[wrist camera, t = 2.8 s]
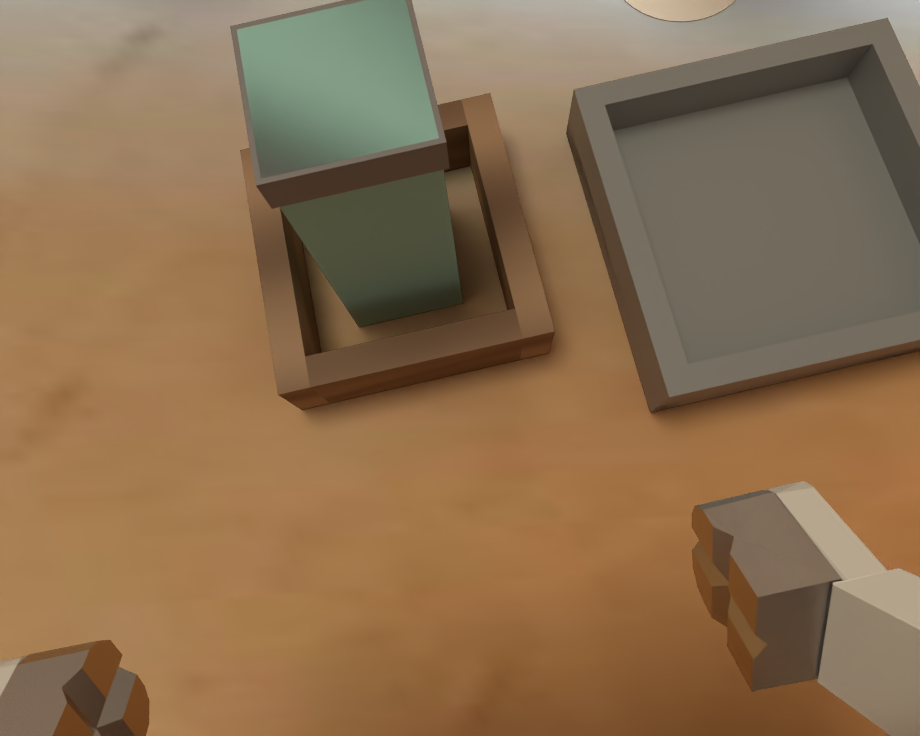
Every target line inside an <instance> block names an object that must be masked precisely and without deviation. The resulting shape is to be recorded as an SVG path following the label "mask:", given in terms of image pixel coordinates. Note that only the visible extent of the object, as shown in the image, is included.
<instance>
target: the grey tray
mask: <svg viewBox="0 0 920 736" xmlns="http://www.w3.org/2000/svg"><path fill="white" fill-rule="evenodd" d="M566 134H567V137H568V141H569V144H570V147H571V151H572V154H573V157H574V161H575V164H576V167H577V170H578V174H579V177H580V180H581V184H582V187H583V190H584V194H585V197H586V200H587V204H588V207H589V210H590V214H591V217H592V220H593V224H594V227H595V230H596V234H597V237H598V240H599V244H600V247H601V250H602V254H603V257H604V260H605V264H606V267H607V270H608V274H609V277H610V280H611V284H612V287H613V290H614V294H615V297H616V300H617V304H618V307H619V310H620V314H621V317H622V320H623V324H624V327H625V330H626V334H627V337H628V340H629V344H630V347H631V350H632V354H633V357H634V360H635V364H636V367H637V370H638V374H639V377H640V380H641V383H642V387H643V390H644V393H645V397H646V400H647V403H648V407H649V410H650V412H654V411H658V410H663V409H667V408H672V407H676V406H680V405H685V404H689V403H693V402H698V401H702V400H706V399H711V398H715V397H720V396H724V395H728V394H733V393H737V392H741V391H746V390H750V389H754V388H759V387H763V386H767V385H772V384H776V383H781V382H785V381H789V380H794V379H798V378H802V377H807V376H811V375H815V374H820V373H824V372H829V371H833V370H837V369H842V368H846V367H850V366H855V365H859V364H863V363H868V362H872V361H877V360H881V359H885V358H890V357H894V356H898V355H903V354H907V353H911V352H916V351H920V86H919V84H918V82H917V80H916V78H915V76H914V74H913V71H912V69H911V67H910V65H909V63H908V61H907V59H906V56H905V54H904V52H903V50H902V48H901V46H900V44H899V41H898V39H897V37H896V35H895V33H894V31H893V29H892V26H891V24H890V22H889V20H888V18H885V19H881V20H876V21H872V22H868V23H863V24H859V25H854V26H850V27H846V28H841V29H837V30H833V31H828V32H824V33H819V34H815V35H811V36H806V37H802V38H797V39H793V40H789V41H784V42H780V43H776V44H771V45H767V46H762V47H758V48H754V49H749V50H745V51H740V52H736V53H732V54H727V55H723V56H719V57H714V58H710V59H705V60H701V61H697V62H692V63H688V64H683V65H679V66H675V67H670V68H666V69H662V70H657V71H653V72H648V73H644V74H640V75H635V76H631V77H626V78H622V79H618V80H613V81H609V82H605V83H600V84H596V85H591V86H587V87H583V88H578V89H574V92H573V97H572V103H571V109H570V115H569V121H568V126H567V132H566Z"/></svg>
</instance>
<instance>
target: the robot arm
mask: <svg viewBox="0 0 920 736" xmlns="http://www.w3.org/2000/svg"><path fill="white" fill-rule="evenodd" d="M692 528H693V530H694V532H695V534H696V535H697V537H698V539H699V542H698V543H697V544H696V546H695V547H694V548H693V549H692V561H693V570H694V574H695V578H696V582H697V587H698V589H699V592H700V594H701V597H702V599H703V601H704V604H705V605H706V607H707V609H708V611H709V613H710V615H711V617H712V618H713V619H715V620H716V621H718V622H720V623H721V624H723V625H724V626H726V627H727V647H728V649H729V651H730V653H731V654H732V656H733V658H734V660H735V662H736V664H737V665H738V667H739V669H740V671H741V673H742V675H743V676H744V678H745V680H746V682H747V684H748V686H749V687H750V689H751V691H757V690H762V689H767V688H772V687H778V686H783V685H788V684H793V683H798V682H803V681H808V680H813V679H818V683H819V684H821V685H822V686H823V687H825V688H826V689H827V690H829V691H830V692H832V693H833V694H834V695H836V696H837V697H838V698H840V699H841V700H842V701H844V702H845V703H847V704H848V705H849V706H851V707H852V708H853V709H855V710H856V711H857V712H859V713H860V714H861V715H863V716H864V717H866V718H867V719H868V720H870V721H871V722H872V723H874V724H875V725H876V726H878V727H879V728H881V729H882V730H883V731H885V732H886V733H887V734H889V735H890V736H920V577H918V576H916V575H914V574H911V573H909V572H907V571H905V570H903V569H900V568H898V569H892V570H887V569H886V568H885V567H884V566H883V564H882V563H881V562H880V561H879V560H878V559H877V558H876V557H875V555H874V554H873V553H872V552H871V551H870V550H869V549H868V548H867V546H866V545H865V544H864V543H863V542H862V541H861V540H860V539H859V538H858V536H857V535H856V534H855V533H854V532H853V531H852V530H851V529H850V527H849V526H848V525H847V524H846V523H845V522H844V521H843V520H842V518H841V517H840V516H839V515H838V514H837V513H836V512H835V511H834V509H833V508H832V507H831V506H830V505H829V504H828V503H827V502H826V501H825V499H824V498H823V497H822V496H821V495H820V494H819V493H818V492H817V490H816V489H815V488H814V487H813V486H812V485H811V484H809V483H807V482H805V481H801V482H797V483H792V484H788V485H784V486H779V487H775V488H771V489H767V490H766V491H764V490H761V491H757V492H753V493H748V494H744V495H740V496H736V497H731V498H727V499H723V500H719V501H715V502H710V503H706V504H702V505H698V506H694V509H693V512H692ZM121 658H122V654H121V652H120V651H119V650H118V649H117V648H116V646H115V645H114V644H113V643H112V642H111V640H102V641H95V642H90V643H85V644H80V645H74V646H69V647H64V648H59V649H54V650H49V651H44V652H39V653H34V654H29V655H27V656H22V657H17V658H12V659H7V660H2V661H0V736H146V733H147V729H148V726H149V698H148V695H147V692H146V689H145V686H144V684H143V683H142V681H141V680H140V678H139V677H138V676H137V675H136V674H134V673H132V672H129V671H127V670H125V669H122V668H120V667H119V664H120V661H121Z"/></svg>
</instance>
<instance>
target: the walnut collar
mask: <svg viewBox="0 0 920 736" xmlns="http://www.w3.org/2000/svg"><path fill="white" fill-rule="evenodd" d="M437 106H438V110H439V114H440V118H441V122H442V126H443V130H444V134H445V138H446V143H447V151H448V159H449V166H450V168H449V169H445V170H444V171H448V170H452V169H457V168H461V167H465V166H470V165H471V168H472V172H473V176H474V180H475V184H476V188H477V192H478V196H479V200H480V204H481V208H482V212H483V216H484V220H485V223H486V227H487V231H488V235H489V239H490V243H491V247H492V251H493V255H494V259H495V263H496V267H497V271H498V275H499V278H500V282H501V286H502V290H503V294H504V298H505V302H506V306H507V310H506V311H502V312H498V313H493V314H489V315H485V316H480V317H476V318H472V319H467V320H463V321H458V322H454V323H450V324H445V325H441V326H437V327H432V328H428V329H423V330H419V331H415V332H410V333H406V334H402V335H397V336H393V337H388V338H384V339H380V340H375V341H371V342H367V343H362V344H358V345H354V346H349V347H345V348H340V349H336V350H332V351H327V352H323V353H321V349H320V343H319V337H318V331H317V326H316V320H315V314H314V309H313V303H312V297H311V291H310V286H309V280H308V274H307V269H306V263H305V257H304V251H303V246H302V240H301V239H300V237H299V236H298V234H297V233H296V231H295V230H294V228H293V227H292V225H291V224H290V222H289V221H288V219H287V218H286V216H285V215H284V213H283V212H282V210H281V209H280V207H278V208H274V209H272V208H271V207H270V205H269V204H268V203H267V201H266V200H265V198H264V197H263V195H262V194H261V192H260V191H259V189H258V188H257V187H256V184H255V177H254V171H253V165H252V159H251V152H250V148H247V149H243V150H240V152H241V159H242V165H243V171H244V178H245V184H246V191H247V197H248V204H249V210H250V217H251V223H252V229H253V236H254V242H255V249H256V255H257V262H258V268H259V275H260V281H261V287H262V294H263V300H264V307H265V313H266V320H267V326H268V333H269V339H270V345H271V352H272V358H273V365H274V371H275V378H276V384H277V391H278V395H279V396H281V397H282V398H284V399H286V400H287V401H289V402H290V403H292V404H293V405H295V406H296V407H298V408H300V409H301V410H303V409H307V408H311V407H316V406H320V405H324V404H329V403H333V402H337V401H342V400H346V399H351V398H355V397H359V396H364V395H368V394H372V393H377V392H381V391H385V390H390V389H394V388H399V387H403V386H407V385H412V384H416V383H420V382H425V381H429V380H434V379H438V378H442V377H447V376H451V375H455V374H460V373H464V372H468V371H473V370H477V369H482V368H486V367H490V366H495V365H499V364H503V363H508V362H512V361H517V360H521V359H525V358H530V357H534V356H538V355H543V354H547V353H549V350H550V347H551V343H552V340H553V336H554V333H555V330H554V326H553V323H552V319H551V315H550V311H549V308H548V304H547V300H546V297H545V293H544V289H543V286H542V282H541V278H540V275H539V271H538V267H537V264H536V260H535V256H534V253H533V249H532V245H531V242H530V238H529V234H528V230H527V227H526V223H525V219H524V216H523V212H522V208H521V205H520V201H519V197H518V194H517V190H516V186H515V183H514V179H513V175H512V172H511V168H510V164H509V161H508V157H507V153H506V149H505V146H504V142H503V138H502V135H501V131H500V127H499V124H498V120H497V116H496V113H495V109H494V105H493V102H492V98H491V94H490V93H488V94H484V95H480V96H475V97H471V98H466V99H462V100H458V101H453V102H449V103H445V104H440V105H437Z"/></svg>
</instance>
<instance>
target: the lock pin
mask: <svg viewBox="0 0 920 736" xmlns="http://www.w3.org/2000/svg"><path fill="white" fill-rule="evenodd" d="M230 27H231V33H232V40H233V46H234V52H235V58H236V65H237V71H238V77H239V83H240V90H241V96H242V102H243V109H244V115H245V121H246V127H247V134H248V140H249V146H250V152H251V159H252V165H253V171H254V177H255V184H256V187H257V188H258V189H259V191H260V192H261V194H262V195H263V197H264V198H265V200H266V201H267V203H268V204H269V205H270V207H271V208H272V209H274V208H278V207H280V209H281V210H282V212H283V213H284V215H285V216H286V218H287V219H288V221H289V222H290V224H291V225H292V227H293V228H294V230H295V231H296V233H297V234H298V236H299V237H300V239H301V240H302V242H303V243H304V245H305V246H306V248H307V249H308V251H309V252H310V254H311V255H312V257H313V258H314V260H315V261H316V263H317V264H318V266H319V267H320V269H321V270H322V272H323V274H324V275H325V277H326V278H327V280H328V281H329V283H330V284H331V286H332V287H333V289H334V290H335V292H336V293H337V295H338V296H339V298H340V299H341V301H342V302H343V304H344V305H345V307H346V308H347V310H348V311H349V313H350V314H351V316H352V317H353V319H354V320H355V322H356V323H357V325H358V326H359V327H362V326H366V325H370V324H375V323H379V322H383V321H388V320H392V319H397V318H401V317H405V316H410V315H414V314H418V313H423V312H427V311H432V310H436V309H440V308H445V307H449V306H453V305H458V304H462V303H463V300H462V293H461V286H460V279H459V272H458V265H457V258H456V251H455V245H454V238H453V231H452V224H451V217H450V210H449V203H448V196H447V189H446V182H445V175H444V170H445V169H449V168H450V166H449V159H448V151H447V143H446V138H445V134H444V130H443V126H442V122H441V118H440V114H439V110H438V106H437V102H436V98H435V94H434V90H433V86H432V82H431V78H430V74H429V69H428V65H427V61H426V57H425V53H424V49H423V45H422V41H421V37H420V33H419V29H418V25H417V21H416V17H415V13H414V9H413V5H412V0H344V1H339V2H335V3H331V4H326V5H322V6H317V7H313V8H309V9H304V10H300V11H295V12H291V13H287V14H282V15H278V16H273V17H269V18H265V19H260V20H256V21H251V22H247V23H243V24H238V25H234V26H230Z"/></svg>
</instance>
